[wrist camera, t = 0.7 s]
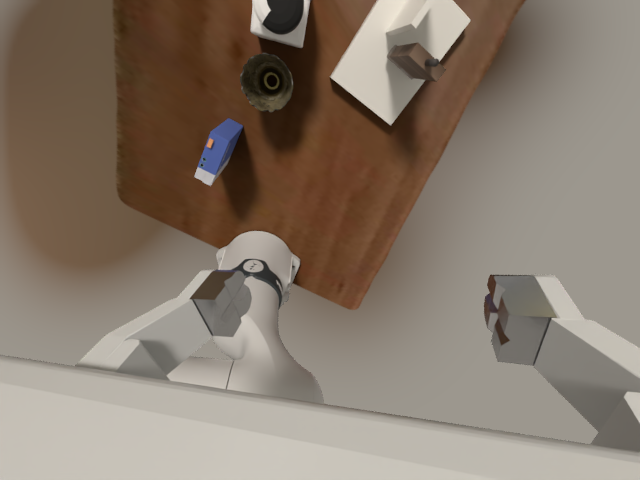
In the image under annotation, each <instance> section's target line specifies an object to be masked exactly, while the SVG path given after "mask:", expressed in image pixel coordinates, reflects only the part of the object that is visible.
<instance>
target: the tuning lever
mask: <svg viewBox="0 0 640 480" xmlns="http://www.w3.org/2000/svg"><path fill="white" fill-rule="evenodd" d="M387 58H388V59H389V60H390V61H391V62H392V63H394V64H395V65H396V66H397V67H398V68H399V69H400V70H401V71H402V72H404V73H405V74H406V75H407V76H408V77H409V78H410V79H411V80H412V79H414V78H415V79H422V80H429V81H436V82H437V81H438V80H439V78H440V77H441V76H442V75H443V73H444V72H445V71H446V69H445V68H444V67H443V66H442V65H441V64H440V63H439V60H438V59H435V58H434V57H433V56H432V55H431V54H430V53H429V52H427V51H426V50H425V49H424V48H423V47H422V46H421V45H420V44H419V43H412V44H406V45H400V46H397V45H394V47H393V48H392V49H391V50H390V52H389V53H388V55H387Z"/></svg>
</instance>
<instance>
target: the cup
mask: <svg viewBox="0 0 640 480" xmlns="http://www.w3.org/2000/svg"><path fill="white" fill-rule="evenodd" d="M270 75H273V76H275V77H276V79H277V84H276V85H275V86H270V85H268V83H267V78H268V77H269V76H270ZM240 82H241V85H242V92H243V93H244V94H246V96H247V98H248V99H249V100H250V104H251V105H252V106H255V107H256V108H257V109H258V110H260V111H270V112H273V111H274V110H280V109H282V107H284V106H285V105H286V103H287V102H288V100H290V98H291V94H292V91H293V79H292V74H291V72H290V71H289V69H288V67H287V66H286V64H285V63H284V61H283V60H281V59H280V58H279V57H278V56H276V55H273V54H268V53H263V54H257V55H254V56H253V57H251V58H249V60H248V62H247V64H245V65H244V66H243V72H242V73H241V76H240Z"/></svg>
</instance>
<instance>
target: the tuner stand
mask: <svg viewBox="0 0 640 480" xmlns="http://www.w3.org/2000/svg"><path fill="white" fill-rule="evenodd" d="M470 21H471V20H470V19H469V18H468V17H467V16H466V14H465V13H464V12H463V11H462V10H461V9H460V8H459V7H458V6H457V4H456V3H455V2H454V1H453V0H377V1H376V3H375V4H374V6H373V7H372V9H371V11H370V12H369V14H368V16H367V17H366V19H365V20H364V22H363V24H362V25H361V27H360V29H359V30H358V32H357V34H356V35H355V37H354V38H353V40H352V42H351V43H350V45H349V47H348V48H347V50H346V51H345V53H344V55H343V56H342V58H341V60H340V61H339V63H338V65H337V66H336V68H335V69H334V71H333V73H332V74H331V76H330V78H332V79H333V80H334V81H335V82H337V83H338V84H339V85H340V86H342V87H343V88H344V89H345V90H347V91H348V92H349V93H350V94H352V95H353V96H354V97H355V98H357V99H358V100H359V101H360V102H362V103H363V104H364V105H365V106H367V107H368V108H369V109H370V110H372V111H373V112H374V113H375V114H377V115H378V116H379V117H380V118H382V119H383V120H384V121H385V122H387V123H388V124H389V125H392V123H393V122H394V121H395V119H396V118H397V117H398V116H399V114H400V113H401V112H402V110H403V109H404V108H405V106H406V105H407V104H408V102H409V101H410V100H411V98H412V97H413V96H414V94H415V93H416V92H417V91H418V89H419V88H420V87H421V85H422V84H423V83H424V81H425V80H422V79H415V78H414V79H412V80H411V79H410V78H409V77H408V76H407V75H406V74H405V73H404V72H402V71H401V70H400V69H399V68H398V67H397V66H396V65H395V64H394V63H392V62H391V61H390V60H389V59H388V58H387V55H388V53H389V52H390V50H391V49H392V48H393V47H394V45H397V46H400V45H406V44H412V43H419V44H420V45H421V46H422V47H423V48H424V49H425V50H426V51H427V52H429V53H430V54H431V55H432V56H433V57H434V58H435V59H438V60H439V62H440V60H441V59H442V58H443V56H444V55H445V54H446V52H447V51H448V50H449V48H450V47H451V46H452V44H453V43H454V42H455V41H456V39H457V38H458V37H459V35H460V34H461V33H462V31H463V30H464V29H465V27H466V26H467V25H468V23H469V22H470Z"/></svg>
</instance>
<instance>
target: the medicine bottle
mask: <svg viewBox="0 0 640 480" xmlns="http://www.w3.org/2000/svg"><path fill="white" fill-rule="evenodd" d="M252 2H253V7H252V19H251V32H252V33H253V34H255V35H256V36H258V37H261V38H264V39H268V40H272V41H275V42H279V43H283V44H287V45H290V46H294V47H298V48H302V47H303V43H304V36H305V30H306V24H307V18H308V12H309V6H310V0H252Z"/></svg>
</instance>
